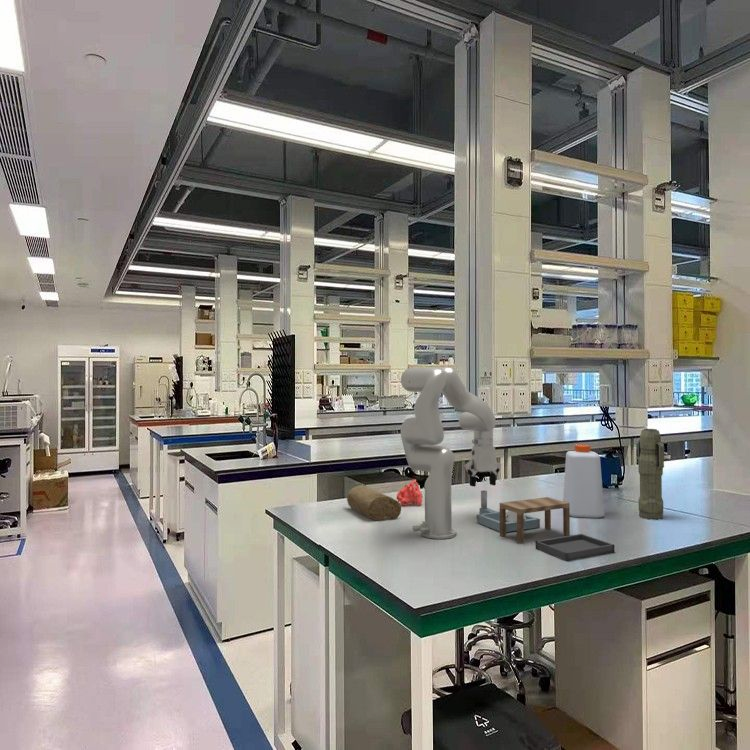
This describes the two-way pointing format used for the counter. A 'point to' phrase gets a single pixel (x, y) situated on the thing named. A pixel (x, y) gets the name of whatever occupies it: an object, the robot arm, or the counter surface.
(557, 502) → the small wooden table
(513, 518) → the grey rock
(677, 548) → the counter surface
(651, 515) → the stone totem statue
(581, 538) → the tray
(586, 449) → the plastic bottle
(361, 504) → the core sample
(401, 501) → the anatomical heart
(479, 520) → the sliding frame
